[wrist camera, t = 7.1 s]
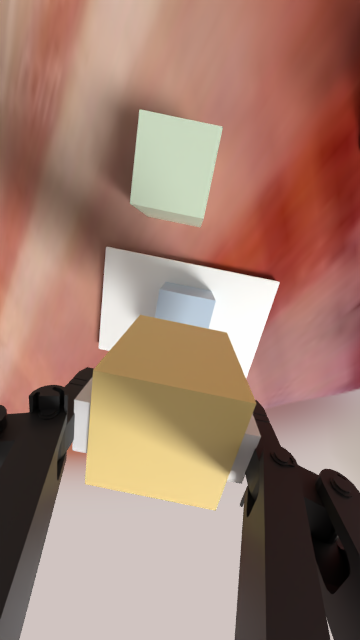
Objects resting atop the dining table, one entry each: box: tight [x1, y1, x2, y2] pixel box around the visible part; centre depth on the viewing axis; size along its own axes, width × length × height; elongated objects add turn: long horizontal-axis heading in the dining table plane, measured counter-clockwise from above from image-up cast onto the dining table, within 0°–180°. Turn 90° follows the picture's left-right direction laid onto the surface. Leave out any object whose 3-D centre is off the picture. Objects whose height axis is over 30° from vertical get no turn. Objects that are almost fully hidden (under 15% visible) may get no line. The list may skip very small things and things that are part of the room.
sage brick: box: [130, 109, 223, 227], centre depth 19 cm, size 6×6×7 cm
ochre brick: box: [85, 315, 256, 510], centre depth 12 cm, size 6×6×7 cm
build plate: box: [99, 247, 280, 378], centre depth 24 cm, size 13×20×6 cm, turn 79°
